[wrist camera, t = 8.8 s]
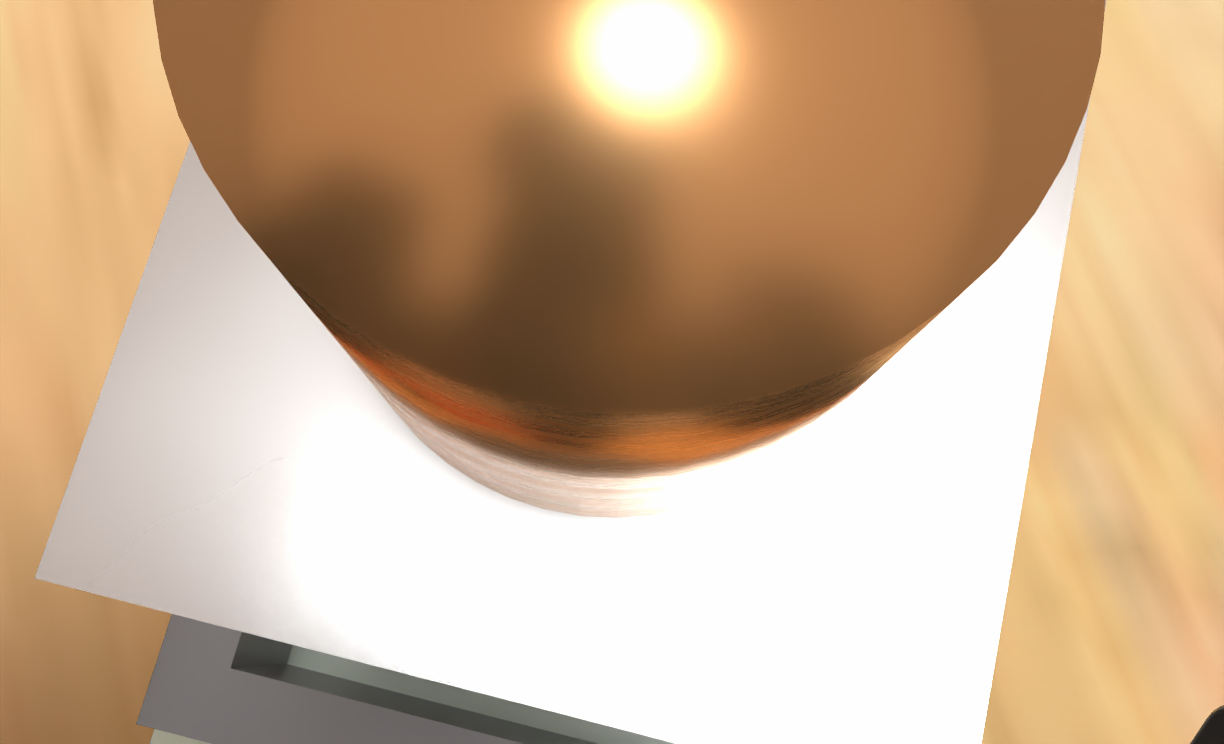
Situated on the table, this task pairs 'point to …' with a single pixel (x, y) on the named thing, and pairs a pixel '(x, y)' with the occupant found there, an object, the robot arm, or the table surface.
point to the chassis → (328, 700)
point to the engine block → (600, 349)
